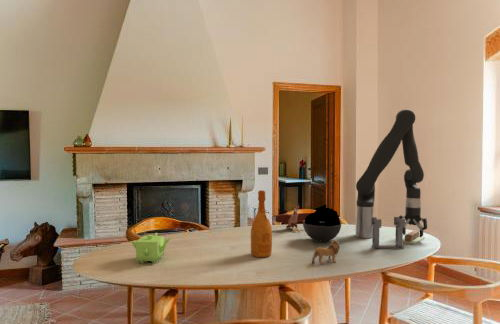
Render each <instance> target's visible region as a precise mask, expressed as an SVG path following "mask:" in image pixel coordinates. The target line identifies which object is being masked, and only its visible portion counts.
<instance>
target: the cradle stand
mask: <svg viewBox="0 0 500 324" xmlns="http://www.w3.org/2000/svg"><path fill="white" fill-rule="evenodd" d="M393 217H394V218H393V226H395V244H380V229H381V228H382V219H381V218H378V217H377V216H374V217H371V225H372V226H373V237H372V238H371V239H372V241H371V242H372V245H371V249H373V250H387V249H388V250H389V249H390V250H392V249H395V250H396V249H398V250H399V249H404V246H403V242H402V239H403V238H404V237H403V236H404V235H403V227H405V222H406V220H405V218H404V219H400V217H399V216H393ZM405 228H406V227H405Z"/></svg>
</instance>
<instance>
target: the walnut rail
mask: <svg viewBox="0 0 500 324" xmlns="http://www.w3.org/2000/svg"><path fill="white" fill-rule="evenodd" d="M419 235H420V230H412V231H410V232H408V233H407V234H405V235H404V238H405V241H408V242H411V241H413V240H414V239H416V238H418V237H419Z"/></svg>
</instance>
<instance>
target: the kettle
mask: <svg viewBox="0 0 500 324" xmlns="http://www.w3.org/2000/svg"><path fill="white" fill-rule="evenodd" d="M172 239H173V238H170V237H169V238H166V239H165V236H164V235H158V232H155V233H154V234H147V235H143V236H142V237H140V238H139V239H138V240H137V241H136V240H132V241H130V243H131V245H132V246H133V247H134V249H135V261H136V262H139V264H145V263H146V262H151V263H152V264H157V263H158V261H159V260H161V259H162V257H163V256H164V254H165V250H166V248H167V244H168V242H170V240H172Z"/></svg>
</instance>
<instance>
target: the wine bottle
mask: <svg viewBox="0 0 500 324" xmlns="http://www.w3.org/2000/svg"><path fill="white" fill-rule="evenodd" d="M257 194H258V195H257V200H258V207H257V211H256V214H255V217H254V219H253V221H252V225H251V227H250V228H251V229H250V254H251V255H252V256H253V257H255V258H267V257H270V256H271V255H272V253H273V252H272V251H273V249H272V248H273V230H272V225H271V222H270V219H271V218H270V215H269V212H267V210H266V206H265V205H266V204H265V201H266V190H262V189H261V190H258V193H257Z"/></svg>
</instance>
